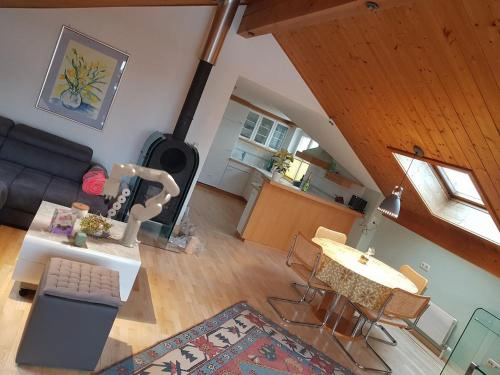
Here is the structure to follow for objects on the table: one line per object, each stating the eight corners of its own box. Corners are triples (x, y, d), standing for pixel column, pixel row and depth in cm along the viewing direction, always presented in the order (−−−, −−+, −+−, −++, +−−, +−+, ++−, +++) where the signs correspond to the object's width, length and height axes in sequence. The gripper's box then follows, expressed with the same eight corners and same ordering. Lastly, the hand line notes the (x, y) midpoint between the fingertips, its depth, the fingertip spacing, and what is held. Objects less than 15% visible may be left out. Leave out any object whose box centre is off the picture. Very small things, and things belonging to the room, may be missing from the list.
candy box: (49, 233, 257) (57, 210, 255) (47, 229, 261) (55, 207, 259) (70, 235, 267) (78, 214, 264) (68, 232, 271) (76, 210, 269)
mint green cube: (82, 242, 260) (85, 233, 259) (83, 245, 256) (87, 236, 255) (74, 241, 256) (77, 232, 256) (75, 244, 252) (78, 235, 252)
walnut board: (82, 238, 271) (84, 232, 270) (87, 249, 256) (90, 243, 256) (66, 235, 264) (68, 229, 263) (70, 247, 250) (72, 240, 249)
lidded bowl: (66, 212, 306) (71, 199, 304) (82, 214, 315) (87, 201, 313) (71, 218, 297) (76, 205, 296) (87, 220, 306) (92, 207, 304)
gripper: (122, 180, 278) (114, 204, 281) (102, 175, 269) (93, 200, 272) (125, 184, 273) (117, 208, 275) (104, 179, 264) (96, 203, 266)
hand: (105, 203), depth 273 cm, fingers closed
